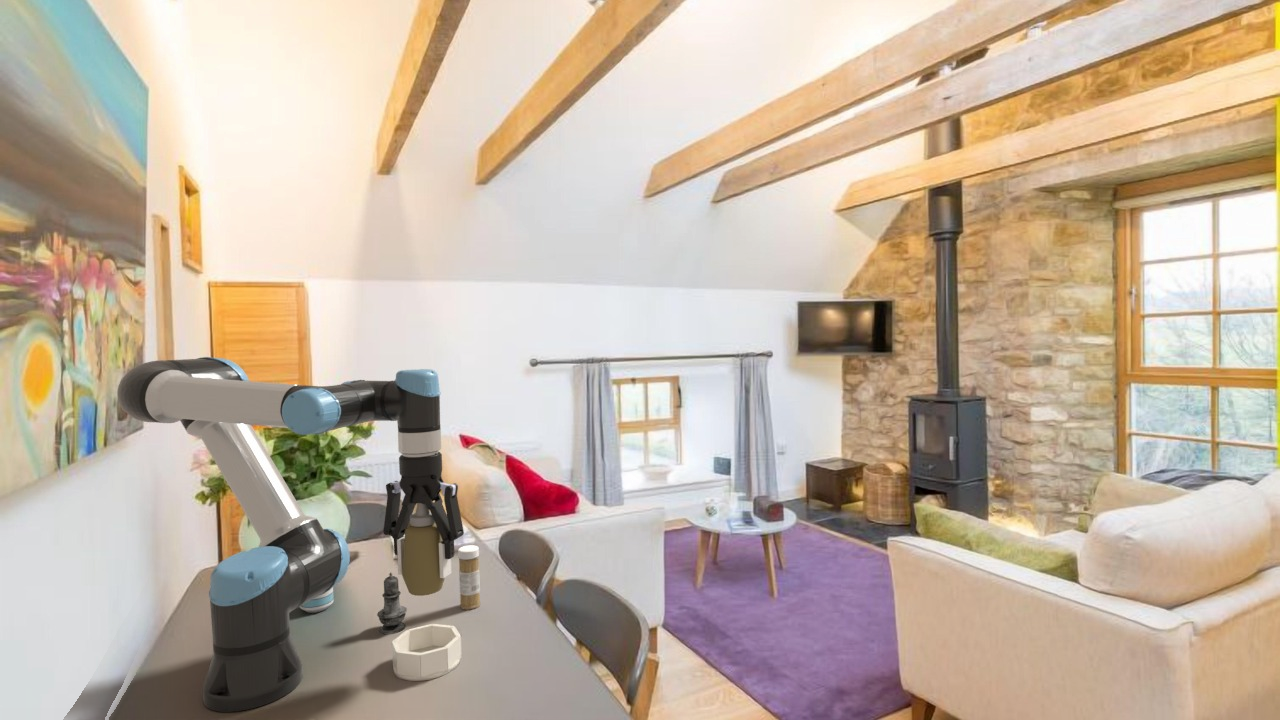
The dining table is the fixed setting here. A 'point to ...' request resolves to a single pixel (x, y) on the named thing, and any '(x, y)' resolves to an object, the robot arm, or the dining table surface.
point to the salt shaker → (392, 608)
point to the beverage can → (319, 602)
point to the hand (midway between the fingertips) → (424, 573)
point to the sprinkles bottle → (469, 576)
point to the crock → (426, 652)
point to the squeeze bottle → (422, 554)
